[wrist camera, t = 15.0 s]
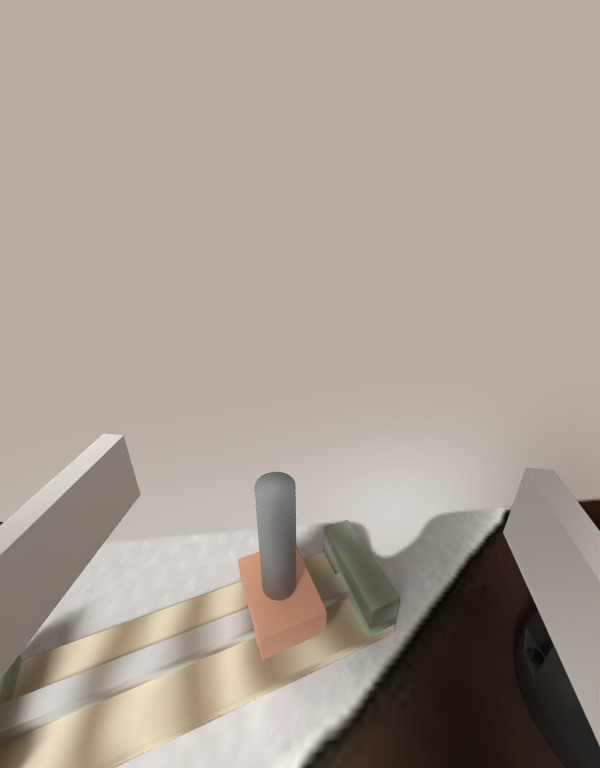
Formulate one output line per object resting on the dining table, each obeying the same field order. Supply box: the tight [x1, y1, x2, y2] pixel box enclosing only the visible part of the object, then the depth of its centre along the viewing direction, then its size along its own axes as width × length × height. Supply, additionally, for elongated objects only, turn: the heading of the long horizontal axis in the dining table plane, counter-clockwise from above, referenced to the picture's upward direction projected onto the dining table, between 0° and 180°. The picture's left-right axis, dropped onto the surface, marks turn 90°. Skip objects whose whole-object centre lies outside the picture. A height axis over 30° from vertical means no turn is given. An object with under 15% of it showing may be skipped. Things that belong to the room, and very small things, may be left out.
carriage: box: [238, 472, 327, 660], centre depth 31 cm, size 6×8×16 cm
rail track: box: [0, 520, 400, 768], centre depth 32 cm, size 36×10×6 cm, turn 112°
